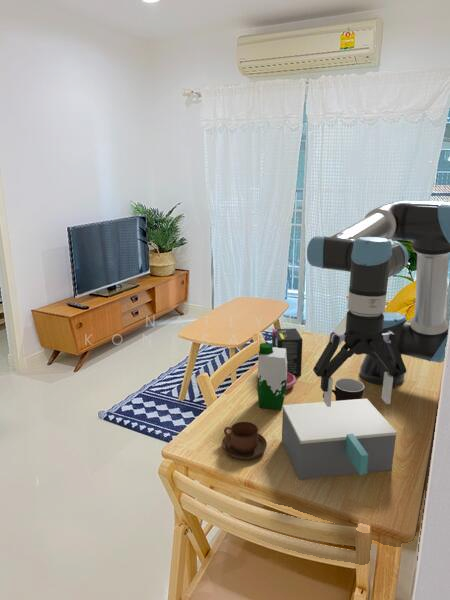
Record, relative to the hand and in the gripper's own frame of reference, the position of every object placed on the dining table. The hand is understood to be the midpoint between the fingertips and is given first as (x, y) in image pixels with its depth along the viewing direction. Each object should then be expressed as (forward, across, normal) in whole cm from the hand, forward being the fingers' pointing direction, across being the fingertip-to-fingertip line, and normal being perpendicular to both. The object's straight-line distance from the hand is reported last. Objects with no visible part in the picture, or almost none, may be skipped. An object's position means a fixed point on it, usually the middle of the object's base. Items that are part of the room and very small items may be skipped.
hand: (356, 402), depth 98 cm
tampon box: (+21, 0, +63) cm, 67 cm away
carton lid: (+15, +1, +8) cm, 17 cm away
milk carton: (+22, -10, +40) cm, 46 cm away
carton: (+22, +1, +12) cm, 25 cm away
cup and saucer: (+23, -22, +17) cm, 36 cm away
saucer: (+22, -6, +52) cm, 57 cm away
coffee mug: (+22, +10, +31) cm, 39 cm away
